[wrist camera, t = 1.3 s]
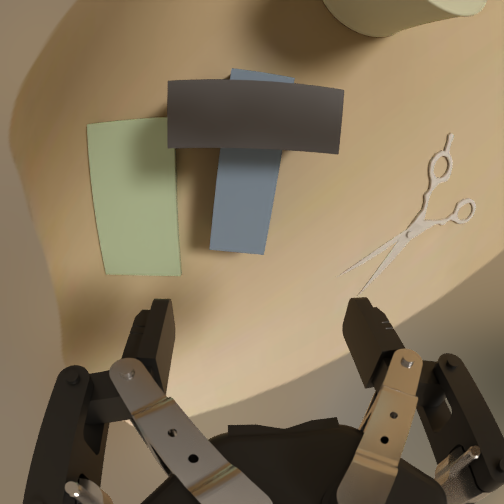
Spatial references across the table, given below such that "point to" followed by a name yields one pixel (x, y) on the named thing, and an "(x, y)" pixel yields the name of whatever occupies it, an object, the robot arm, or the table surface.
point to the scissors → (420, 216)
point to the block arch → (253, 115)
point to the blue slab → (245, 189)
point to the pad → (135, 196)
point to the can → (398, 13)
